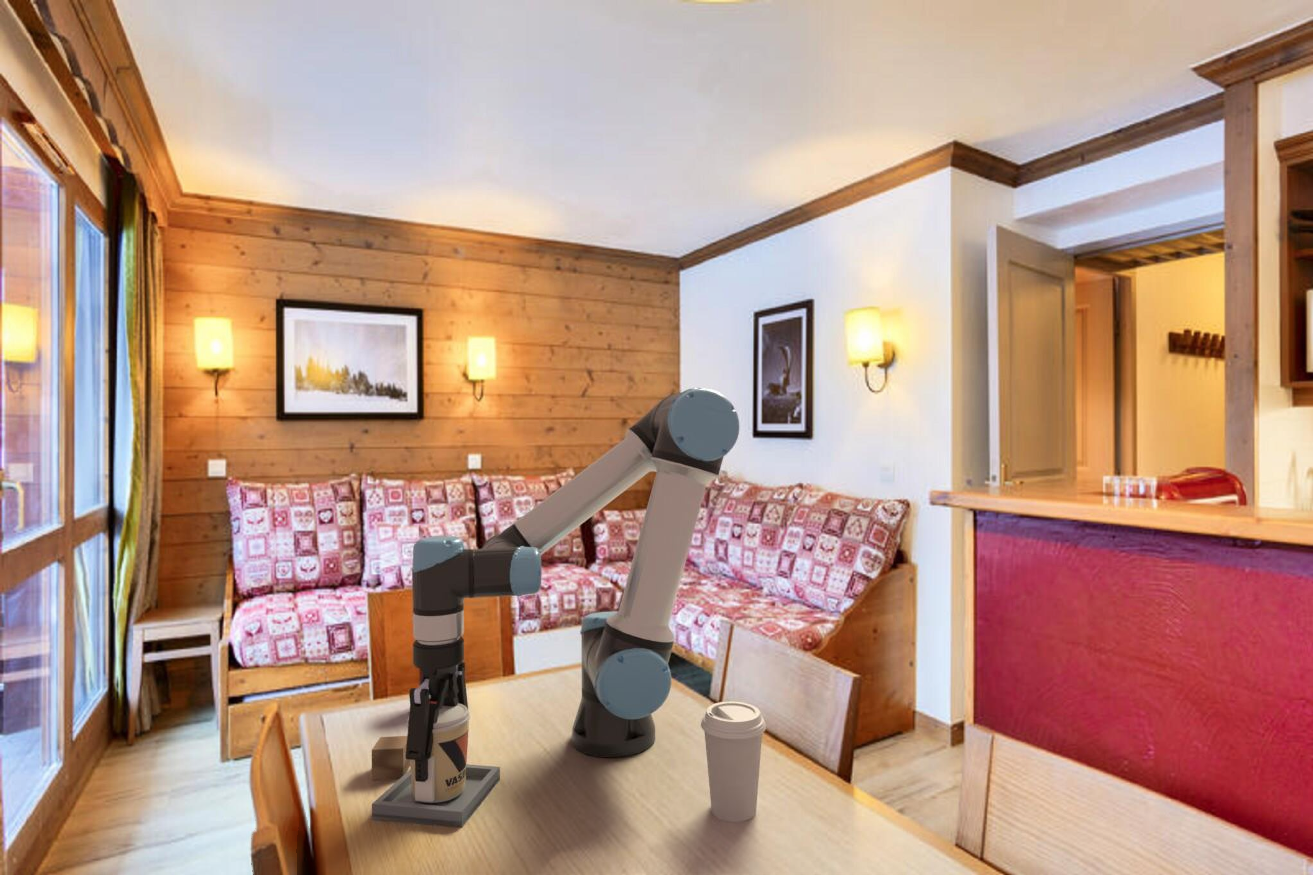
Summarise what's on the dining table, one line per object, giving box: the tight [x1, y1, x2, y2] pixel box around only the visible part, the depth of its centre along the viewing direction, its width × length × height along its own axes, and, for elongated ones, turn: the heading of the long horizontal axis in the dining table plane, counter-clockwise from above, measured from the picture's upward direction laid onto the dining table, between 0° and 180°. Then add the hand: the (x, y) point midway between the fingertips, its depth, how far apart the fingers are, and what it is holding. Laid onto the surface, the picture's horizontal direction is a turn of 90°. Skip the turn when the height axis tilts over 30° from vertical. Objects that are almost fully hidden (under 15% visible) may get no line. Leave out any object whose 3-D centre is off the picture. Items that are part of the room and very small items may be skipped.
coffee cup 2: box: [700, 700, 767, 823], centre depth 104 cm, size 10×10×15 cm
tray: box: [371, 763, 501, 828], centre depth 109 cm, size 14×14×2 cm
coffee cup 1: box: [405, 703, 471, 803], centre depth 109 cm, size 9×9×12 cm
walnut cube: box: [371, 735, 410, 781], centre depth 118 cm, size 5×5×5 cm
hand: (439, 784), depth 109 cm, fingers closed on coffee cup 1, 9 cm apart
